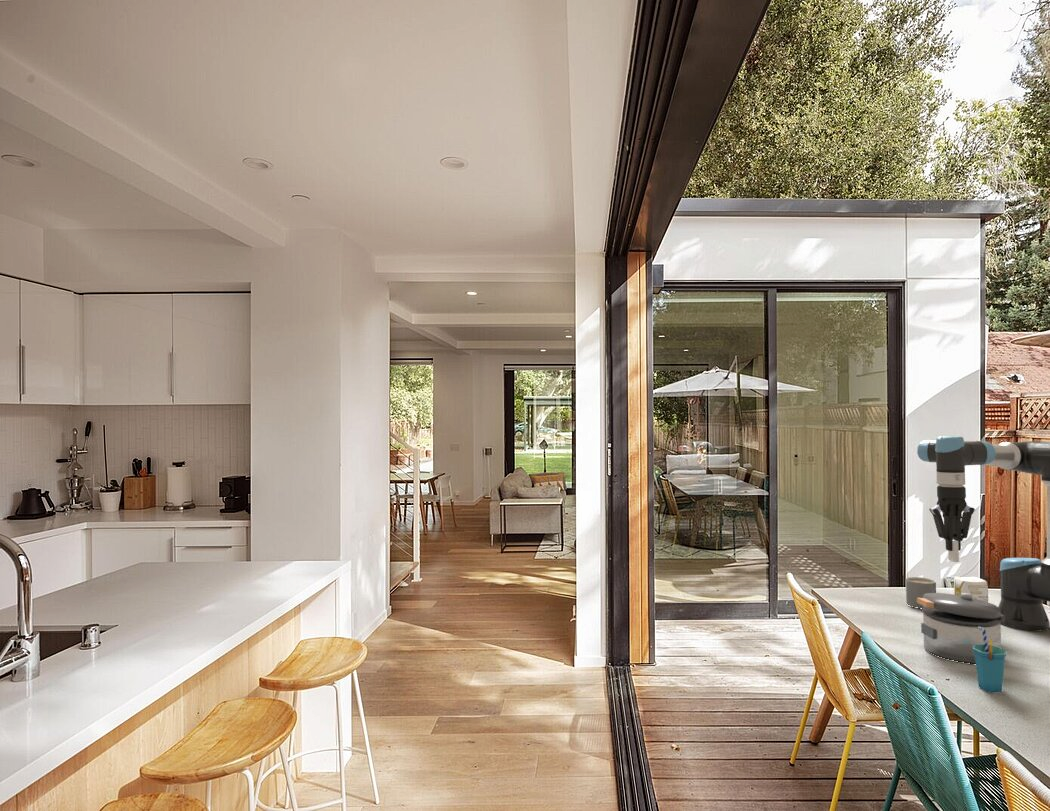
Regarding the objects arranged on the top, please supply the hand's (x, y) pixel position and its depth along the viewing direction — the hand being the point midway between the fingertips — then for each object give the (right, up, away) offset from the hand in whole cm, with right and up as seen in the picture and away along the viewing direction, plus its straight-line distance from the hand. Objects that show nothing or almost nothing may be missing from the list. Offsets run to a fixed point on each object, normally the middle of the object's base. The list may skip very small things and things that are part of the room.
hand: (953, 560), depth 201 cm
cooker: (+2, -29, -1) cm, 29 cm away
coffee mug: (+21, -30, +50) cm, 62 cm away
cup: (-7, -29, -26) cm, 39 cm away
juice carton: (+16, -29, +15) cm, 36 cm away
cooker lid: (+1, -15, 0) cm, 15 cm away
